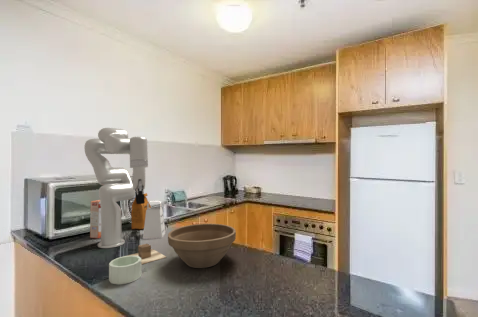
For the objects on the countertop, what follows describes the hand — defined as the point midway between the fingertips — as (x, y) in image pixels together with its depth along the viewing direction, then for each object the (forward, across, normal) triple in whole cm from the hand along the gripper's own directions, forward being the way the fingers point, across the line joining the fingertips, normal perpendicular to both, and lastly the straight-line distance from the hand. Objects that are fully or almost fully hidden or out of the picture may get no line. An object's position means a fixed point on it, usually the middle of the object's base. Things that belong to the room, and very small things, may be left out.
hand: (140, 202), depth 113 cm
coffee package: (+23, -56, +3) cm, 61 cm away
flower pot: (+26, +15, +24) cm, 38 cm away
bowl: (+25, +17, -6) cm, 31 cm away
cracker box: (+23, -49, -19) cm, 57 cm away
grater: (+24, -34, +9) cm, 42 cm away
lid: (+25, -1, +1) cm, 25 cm away
